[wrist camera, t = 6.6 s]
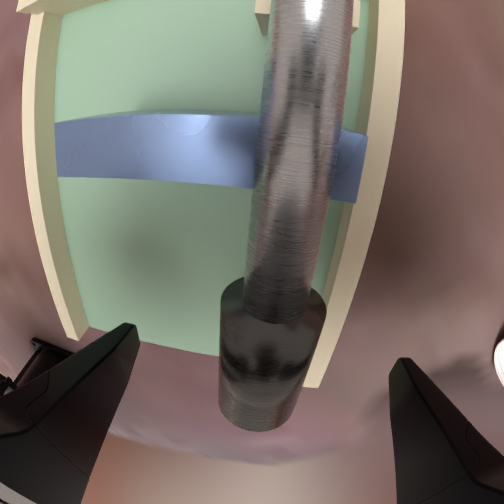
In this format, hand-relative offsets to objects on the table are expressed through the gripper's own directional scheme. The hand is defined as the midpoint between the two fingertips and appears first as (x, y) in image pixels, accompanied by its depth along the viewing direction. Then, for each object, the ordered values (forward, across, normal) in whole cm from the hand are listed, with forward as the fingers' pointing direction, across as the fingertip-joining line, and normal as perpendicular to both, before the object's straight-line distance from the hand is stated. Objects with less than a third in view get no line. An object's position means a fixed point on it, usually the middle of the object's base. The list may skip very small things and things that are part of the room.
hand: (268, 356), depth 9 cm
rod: (+5, +3, -9) cm, 11 cm away
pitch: (+7, +5, -7) cm, 11 cm away
